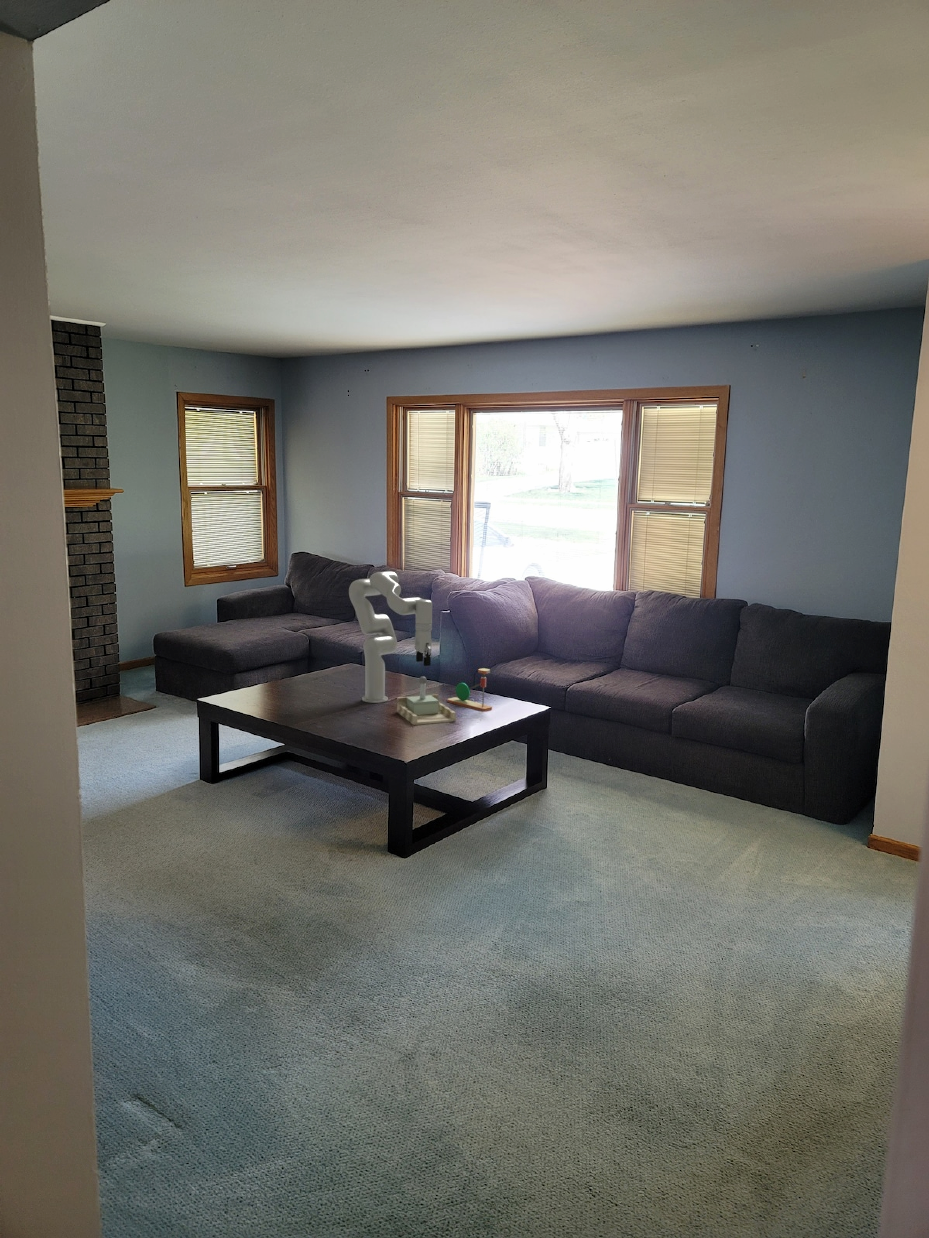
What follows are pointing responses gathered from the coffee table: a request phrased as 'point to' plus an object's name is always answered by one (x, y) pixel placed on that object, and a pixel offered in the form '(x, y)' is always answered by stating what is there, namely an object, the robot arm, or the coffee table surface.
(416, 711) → the green joystick
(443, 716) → the bay
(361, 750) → the coffee table surface
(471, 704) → the crank mechanism
